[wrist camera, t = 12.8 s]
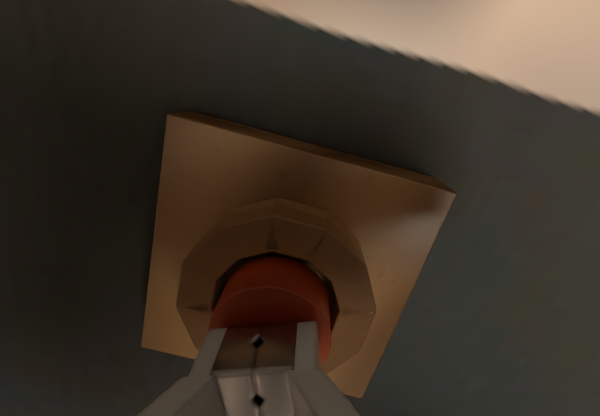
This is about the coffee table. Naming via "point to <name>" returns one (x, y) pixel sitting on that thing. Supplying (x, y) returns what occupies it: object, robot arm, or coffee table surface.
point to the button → (274, 298)
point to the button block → (286, 234)
